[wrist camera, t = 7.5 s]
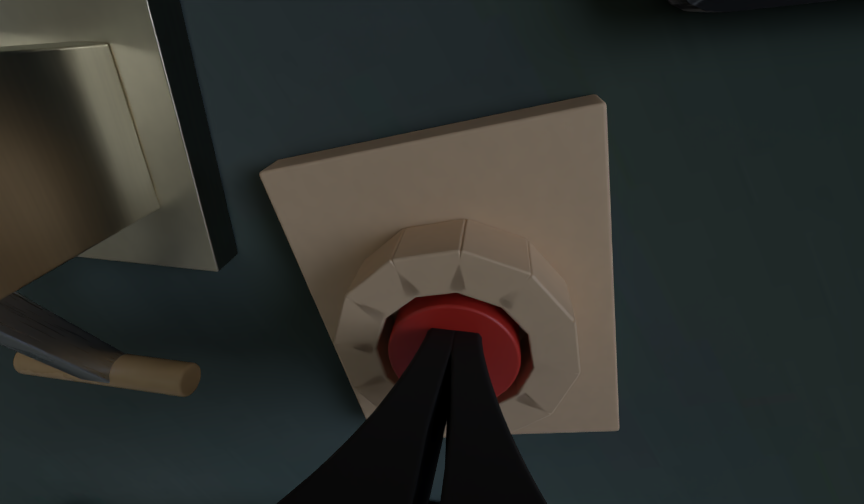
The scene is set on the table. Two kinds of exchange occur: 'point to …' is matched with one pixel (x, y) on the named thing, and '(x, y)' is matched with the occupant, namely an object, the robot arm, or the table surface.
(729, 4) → the phone
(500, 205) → the control block
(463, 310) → the button
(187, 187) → the bracket
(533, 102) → the table surface
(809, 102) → the table surface
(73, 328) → the lever
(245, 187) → the table surface
